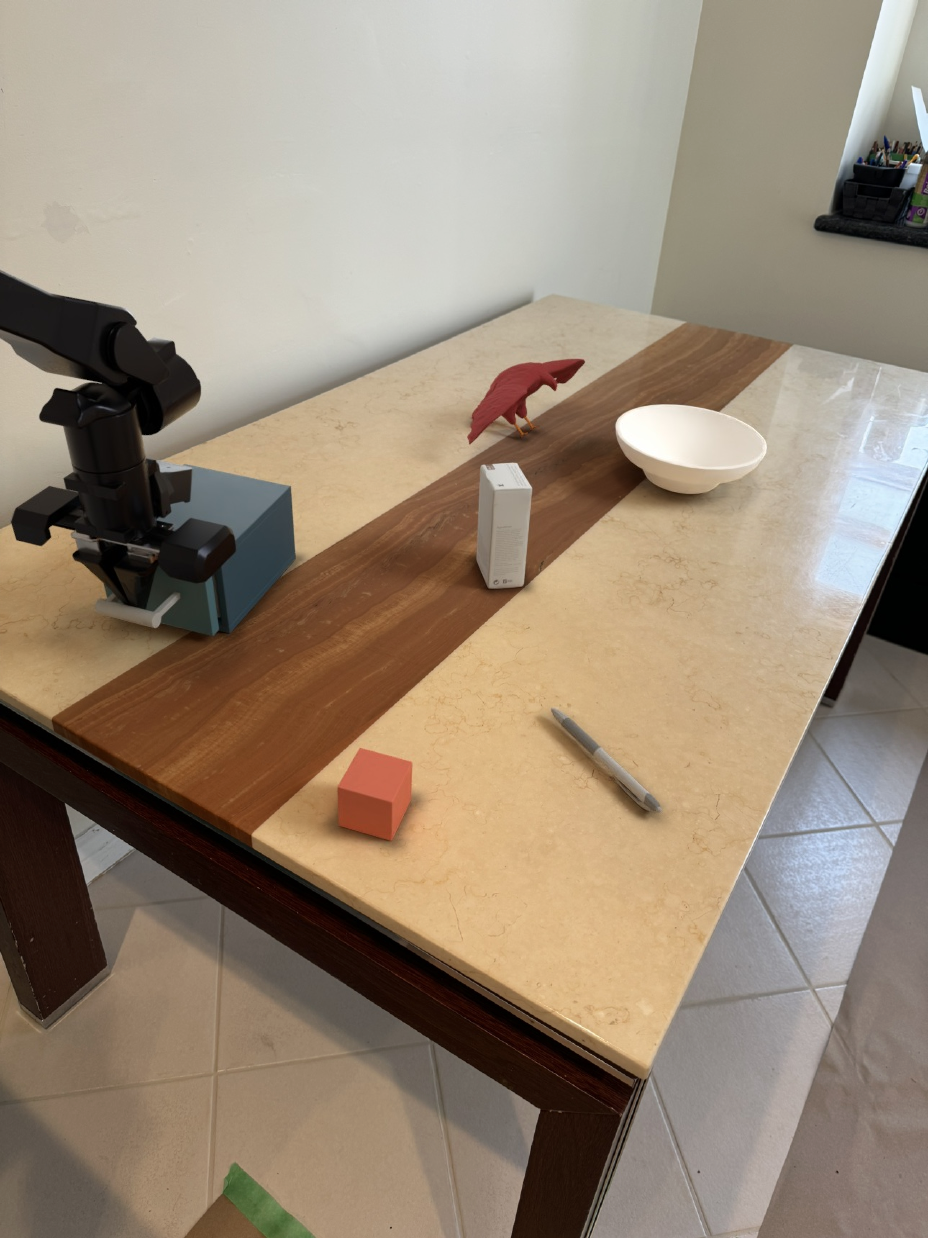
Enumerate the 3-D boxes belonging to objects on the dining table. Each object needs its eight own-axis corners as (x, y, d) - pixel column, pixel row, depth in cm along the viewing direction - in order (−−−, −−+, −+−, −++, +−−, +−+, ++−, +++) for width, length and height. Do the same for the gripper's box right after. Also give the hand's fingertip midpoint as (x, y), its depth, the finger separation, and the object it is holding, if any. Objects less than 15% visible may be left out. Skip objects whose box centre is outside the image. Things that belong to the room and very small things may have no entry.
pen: (654, 822, 70) (657, 810, 69) (545, 717, 78) (547, 706, 78) (663, 816, 70) (666, 805, 69) (554, 713, 79) (556, 702, 78)
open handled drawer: (185, 667, 80) (174, 602, 75) (77, 639, 82) (60, 574, 78) (277, 564, 94) (273, 505, 90) (183, 543, 96) (174, 484, 92)
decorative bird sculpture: (449, 490, 121) (521, 437, 110) (410, 434, 120) (478, 375, 109) (545, 424, 140) (613, 373, 130) (512, 375, 139) (578, 320, 129)
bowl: (734, 453, 126) (746, 408, 122) (770, 522, 110) (785, 473, 106) (599, 445, 125) (607, 399, 121) (616, 513, 109) (626, 463, 105)
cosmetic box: (525, 587, 95) (537, 488, 88) (485, 590, 94) (494, 490, 87) (510, 557, 100) (520, 460, 93) (472, 559, 99) (479, 462, 92)
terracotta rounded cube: (391, 841, 66) (392, 802, 64) (338, 826, 67) (336, 787, 65) (411, 800, 70) (412, 761, 67) (360, 785, 71) (359, 747, 68)
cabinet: (230, 633, 85) (220, 555, 80) (117, 605, 88) (100, 527, 83) (296, 558, 97) (291, 485, 91) (194, 535, 99) (184, 463, 94)
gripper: (258, 439, 76) (271, 587, 85) (73, 402, 79) (105, 547, 89) (189, 496, 67) (212, 654, 76) (-15, 452, 71) (30, 607, 80)
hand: (139, 611), depth 81 cm, fingers closed
